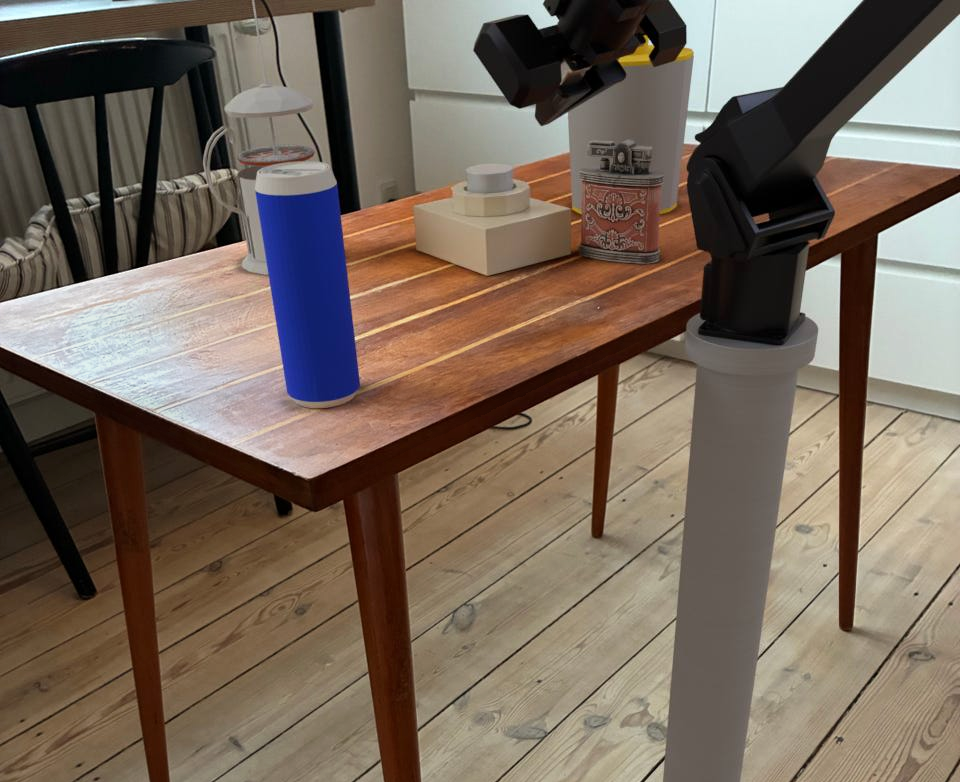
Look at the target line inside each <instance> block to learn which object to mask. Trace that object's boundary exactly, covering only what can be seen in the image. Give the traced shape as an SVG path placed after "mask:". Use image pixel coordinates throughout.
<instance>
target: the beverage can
mask: <svg viewBox="0 0 960 782" xmlns="http://www.w3.org/2000/svg"><path fill="white" fill-rule="evenodd" d="M255 180H256V184H255V193H256V199H257V205H258V212H259V218H260V224H261V231H262V237H263V243H264V249H265V256H266V262H267V268H268V275H267V276H268V280H269V287H270V293H271V299H272V306H273V312H274V318H275V325H276V331H277V338H278V344H279V349H280V356H281V362H282V369H283V375H284V382H285V387H286V393H287V395H288V396H289V397H290V399H291V400H292V401H293V402H294V403H296V405H298V406H300V407H304V408H309V409H326V408H334V407H338V406H341V405H344V404H346V403H348V402H350V401H351V400H353V398H354V397H355V396H356V394H358V391H359V389H360V387H361V380H360V372H359V364H358V354H357V353H358V352H357V347H356V346H357V344H356V337H355V336H356V335H355V329H354V321H353V320H354V319H353V318H354V317H353V310H352V302H351V301H352V300H351V293H350V284H349V277H348V276H349V275H348V267H347V257H346V249H345V242H344V241H345V240H344V233H343V224H342V215H341V214H342V213H341V206H340V198H339V197H340V196H339V188H338V182H337V179H336V177H335V175H334V172H333V170H332V167H331V165H330V164H329V163H325V162H323V161H312V160H311V161H310V160H306V161H298V162H287V163H280V164H274V165H270V166H267V167H264V168H262V169H260V170H258V172H257V177H256V179H255Z"/></svg>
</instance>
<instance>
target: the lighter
mask: <svg viewBox="0 0 960 782" xmlns="http://www.w3.org/2000/svg"><path fill="white" fill-rule="evenodd" d="M588 156H589V157H600V158H602V160H600V166H589V167H584V168H582V169H580V179H581V180H582V214H581V226H580V227H581V230H580V231H581V232H580V242H579V243H578V254H579V255H580V256H581V257H587V258H591V259H595V260H601V261H610V262H616V263H618V262H619V263H629V264H641V265H642V264H645V265H647V264H653V263H657V262H659V260H660V248H659V235H660V234H659V232H660V215H661V214H660V199H661V184H663V181H664V173H663V172H660V171H653V170H649V166H650V163H651V159H652V147H649V146H637V145H636V143H635V141H633V140H626V141H623V142H621V143H619V144H615V142H613V141H599V140H592V141H590V143H589V144H588ZM609 158H613V160H612V165H610V160H609ZM639 161H640V163H639Z"/></svg>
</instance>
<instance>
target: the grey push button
mask: <svg viewBox="0 0 960 782" xmlns="http://www.w3.org/2000/svg"><path fill="white" fill-rule="evenodd" d="M465 179H466V180H465V181H467V191H469V192H472V193H486V194H487V193H501V192H505V191H510V190H513V179H514V167H513V166H512V165H510V164H505V163H482V164H475V165H471V166H469V167H466V169H465Z"/></svg>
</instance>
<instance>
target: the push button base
mask: <svg viewBox="0 0 960 782" xmlns="http://www.w3.org/2000/svg"><path fill="white" fill-rule="evenodd" d="M450 196H451V197H447V198H443V199H439V200H434V201H428V202H425V203H420V204H415V205H413V206H412V209H413V210H412V211H413V223H414V235H415V249H416V251H418V252H421V253H424V254H426V255H428V256H429V255H430V256H432V257H434V258H437V259H440V260H443V261H445V262H448V263H451V264H453V265H456V266H459V267H462V268H463V269H464V268H465V269H467V270H470V271H472V272H476V273H478V274H481V275H483V276H486V277H490V276H493V275H497V274H501V273H505V272H508V271H512V270H516V269H520V268H525V267H528V266H531V265H535V264H539V263H543V262H546V261H547V262H548V261H550V260H554V259H558V258H563V257H566V256H570V255H571V254H572V207H571V208H570V207H567V206H563V205H560V204H555V203H551V202H549V201H545V200H540V199H537V198H533V197H531V186H530V185H529V183H528V182H527V181H524V180H519V179H515V178H513V190H510V191H505V192H501V193H487V194H486V193H472V192H469V191H467V181H466V180H465V181H461V182H458V183H456V184H454V185H452V186H451V187H450Z"/></svg>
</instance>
